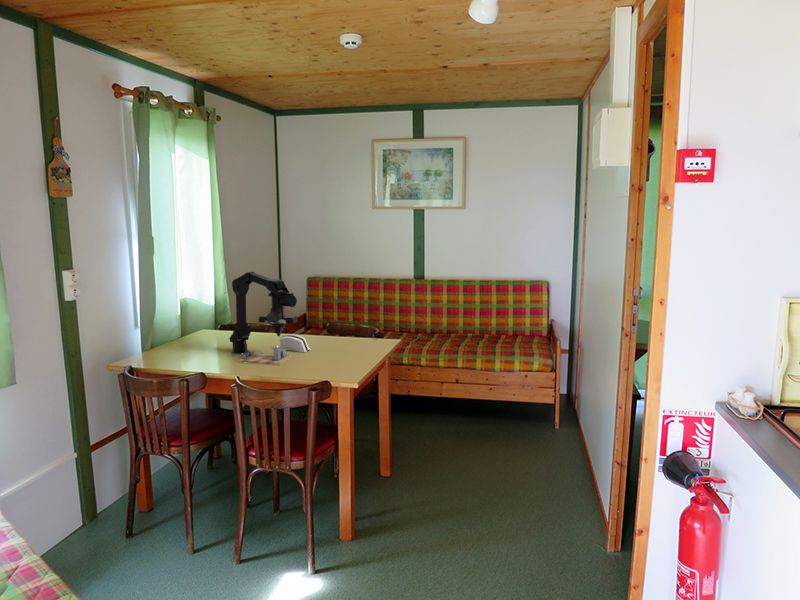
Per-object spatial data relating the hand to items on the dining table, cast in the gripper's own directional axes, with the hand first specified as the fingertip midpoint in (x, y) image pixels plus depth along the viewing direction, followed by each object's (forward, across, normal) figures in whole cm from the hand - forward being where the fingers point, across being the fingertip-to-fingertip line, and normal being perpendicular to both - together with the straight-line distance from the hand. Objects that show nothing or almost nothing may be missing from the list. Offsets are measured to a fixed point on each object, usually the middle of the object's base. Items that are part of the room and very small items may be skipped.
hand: (278, 336), depth 282 cm
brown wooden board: (+12, -7, -3) cm, 14 cm away
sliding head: (+11, +1, -3) cm, 11 cm away
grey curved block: (+12, 0, +19) cm, 23 cm away
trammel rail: (+11, -7, -3) cm, 13 cm away
